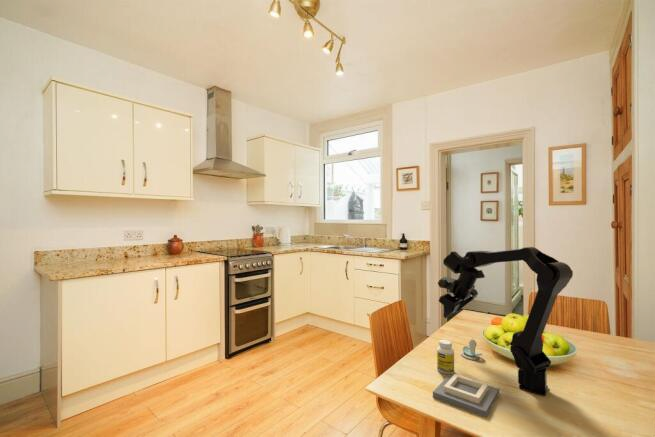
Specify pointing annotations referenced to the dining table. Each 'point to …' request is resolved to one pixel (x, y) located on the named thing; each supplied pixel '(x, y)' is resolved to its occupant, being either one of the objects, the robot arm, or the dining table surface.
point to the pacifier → (470, 353)
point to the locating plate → (467, 394)
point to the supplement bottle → (445, 357)
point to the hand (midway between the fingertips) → (451, 313)
